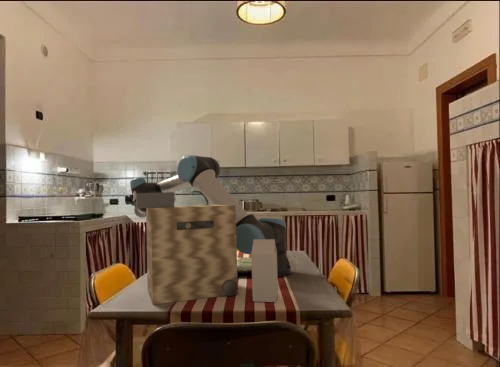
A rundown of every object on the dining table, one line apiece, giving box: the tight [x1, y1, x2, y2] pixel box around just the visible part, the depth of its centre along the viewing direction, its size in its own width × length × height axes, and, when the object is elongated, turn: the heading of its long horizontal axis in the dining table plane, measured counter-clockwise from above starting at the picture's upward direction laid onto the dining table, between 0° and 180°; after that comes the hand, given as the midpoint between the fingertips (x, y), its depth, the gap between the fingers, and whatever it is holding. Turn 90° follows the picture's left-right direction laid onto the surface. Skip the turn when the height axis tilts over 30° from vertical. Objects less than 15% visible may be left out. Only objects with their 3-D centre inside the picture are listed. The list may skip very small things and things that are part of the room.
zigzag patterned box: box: [145, 204, 239, 305], centre depth 128 cm, size 28×20×30 cm
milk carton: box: [250, 239, 279, 303], centre depth 118 cm, size 7×7×19 cm
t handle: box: [136, 192, 175, 209], centre depth 135 cm, size 12×30×5 cm, turn 20°
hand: (151, 193), depth 156 cm, fingers open, 13 cm apart
